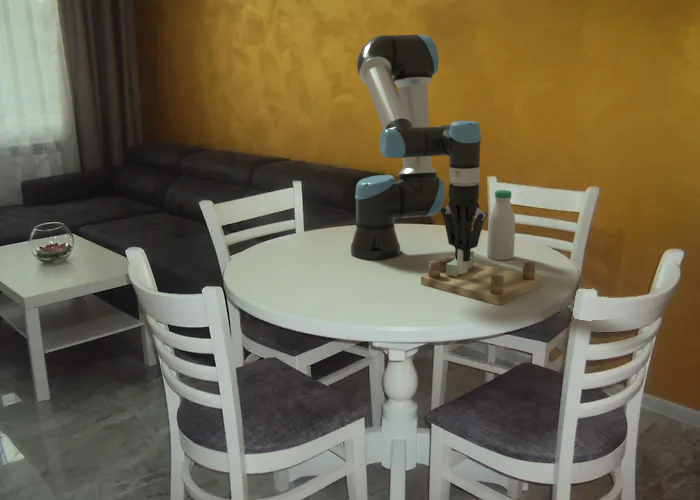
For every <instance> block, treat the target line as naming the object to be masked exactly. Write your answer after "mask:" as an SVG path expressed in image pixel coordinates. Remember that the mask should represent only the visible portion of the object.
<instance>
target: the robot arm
mask: <svg viewBox="0 0 700 500" xmlns="http://www.w3.org/2000/svg"><path fill="white" fill-rule="evenodd" d="M439 64H440V57H439V50H438V47H437V45H436V43H435V41H434V39H433V38H432V37H431V36H430V35H429V36H428V35H422V34H417V33H415V34H395V35H394V34H393V35H392V34H391V35H388V34H382V35H379V36H375V37H373V38H371V39H370V40H369V41H368V42H366V44H364V45H363V47H362V48H361V51H359V55H358V58H357V63H356V69H357V73H358V76H359V78H360V80H361V81H362V83H363V84H365V85H366V87H367V89H368V92H369V95H370V98H371V100H372V103H373V105H374V108H375V110H376V113H377V115H378V119H379V122H380V124H381V127H382V131H380V135H379V147H380V152H381V154H382V156H383V157H385V158H389V159H390V158H391V159H394V158H395V159H402V168H401V170H400V171H399V172H398V179H396V178H395V176H394V175H391V174H383V175H382V174H379V175H372V176H369V177H368V176H367V177H365V178H362V179H360V180H359V181H358V182H357V184H356V186H355V195H354V198H355V224H356V225H355V226H356V227H355V231H354V235H353V239H352V243H351V245H350V254H351V256H353V257H356V258H357V259H358V258H359V259H363V260H386V259H391V258H395V257H397V256H399V255H400V254H401V245H400V243H399V240H398V236H397V232H396V230H395V229H396V228H395V219H404V218H405V219H407V218H421V217H423V218H426V217H431V216H435V215H437V214H438V213H441V214H442V217H443V221H444V224H445V231H446V232H445V233H446V237H447V241H448V245H450V246H452V247H454V259H456V260H457V265H458V267H457V273H458V274H463V273H466V272H467V268H468V261H470V251H471V250H472V249H473V248H474V249H475V248H476V247H478V245H479V241H480V237H481V233H482V230H483V225H484V221H485V220H486V218H487V217H488V213H487V212H483V211H482V210H481V209H480V205H479V197H480V185H479V184H478V183H479V182H480V165H481V164H480V159H481V140H482V135H481V125H480V122H478V121H475V120H458V121H452V122H451V123H450V124H447V125H445V124H443V125H442V124H441V125H438V126H430V109H429V108H430V107H429V91H428V86H429V85H430V84H431V83H432V81H433V76H434V75H436V74H437V72H438V70H439ZM439 156H440V157H441V156H442V157H443V156H447V157H449V159H448V160H449V162H448V163H449V164H448V165H449V175H448V176H449V177H448V181H449V182H450V183H449V184H448V198H449V201H448V205H446V206H445V207H443V204H444V201H445V193H446V189H445V188H446V187H445V183H444V180H443V179H442V178H441V177H440V176H438V174H437V173H438V172H437V170H436V169H435V168H434V167H433V166H432V157H439ZM474 218H475V220H474Z"/></svg>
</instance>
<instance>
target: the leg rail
mask: <svg viewBox="0 0 700 500" xmlns="http://www.w3.org/2000/svg"><path fill="white" fill-rule="evenodd" d="M474 255H475V252H474V250H470V261H468V268H467V270H468V269H470V268H472V267H473V263H475V262H474V260H475V259H474ZM457 267H458V265H457V260H456V259H455V258H454V260H453V261H451V262H449V263H447V264H446V275H449V276H455V277H457V276H458V275H460V274H458V273H457Z"/></svg>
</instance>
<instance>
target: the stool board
mask: <svg viewBox="0 0 700 500" xmlns="http://www.w3.org/2000/svg"><path fill="white" fill-rule="evenodd" d="M454 259H455V257H450V256H447V257H445V258H442V259H438V260H436V259H435V260H430V261H428V274H425V275H421V276H420V285H422V286H427V287H431V288H434V289H438V290H441V291H446V292H449V293H453V294H456V295H460V296H463V297H467V298H471V299H474V300H478V301H482V302H485V303H488V304H493V305H496V306H501V305H504V304H506V303H508V302H510V301H511V300H514V299H516V298H519V297H520V296H523V295H525V294H526V293H528V292H529V293H530V292H531V291H533V290H535V289H537V288H540V287H541V286H542V284H543V277H539V276H536V263H535V262H533V261H524V262H523V265H522V273H521V272H517V271H513V270H508V269H504V268H499V267H496V266H491V265H487V264H482V263H478V262H474V263H473V267H472V268H470V269H468V270H467V272H466V273H463V274H460V275H458V276H457V277H455V276H449V275H446V264H447V263H449V262H451V261H453V260H454Z"/></svg>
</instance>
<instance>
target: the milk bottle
mask: <svg viewBox="0 0 700 500" xmlns="http://www.w3.org/2000/svg"><path fill="white" fill-rule="evenodd" d="M494 199H495V202H494V204H493V207H492V209H491V212H490V213H489V218H488V225H487V226H488V227H487V246H486V255H487V258H488V259H491V260H494V261H510V260H512V259H513V258H514V255H515V254H514V252H515V239H516V238H515V235H516V232H515V231H516V217H515V213H514V211H513V207H512V203H511V200H512V191H511V190H507V189H498V190H496V191H494Z"/></svg>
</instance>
